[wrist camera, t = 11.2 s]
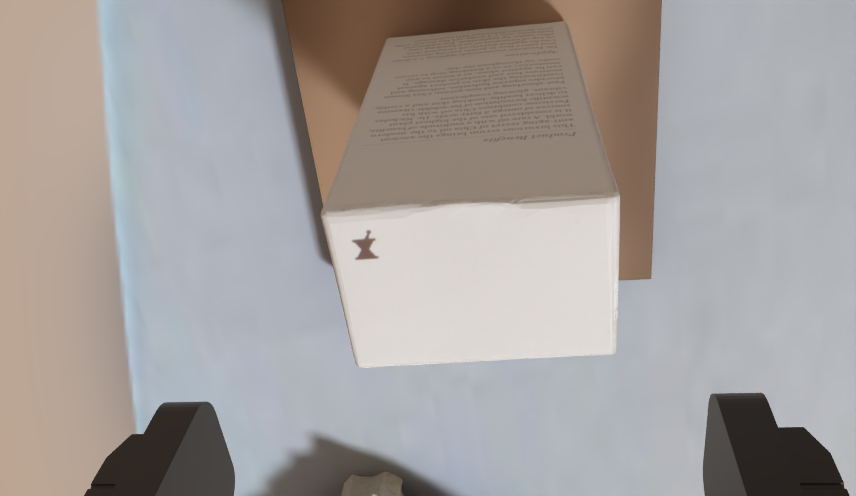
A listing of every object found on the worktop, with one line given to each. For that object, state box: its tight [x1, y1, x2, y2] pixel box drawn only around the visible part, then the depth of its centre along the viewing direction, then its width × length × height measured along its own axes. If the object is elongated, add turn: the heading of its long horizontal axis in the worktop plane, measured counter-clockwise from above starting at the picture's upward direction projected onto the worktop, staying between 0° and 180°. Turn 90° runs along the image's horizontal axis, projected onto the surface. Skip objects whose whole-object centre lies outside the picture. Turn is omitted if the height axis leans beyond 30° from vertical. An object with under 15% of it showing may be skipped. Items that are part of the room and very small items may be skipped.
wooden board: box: [282, 0, 662, 280], centre depth 27 cm, size 12×16×1 cm
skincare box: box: [321, 21, 620, 368], centre depth 22 cm, size 6×4×12 cm
